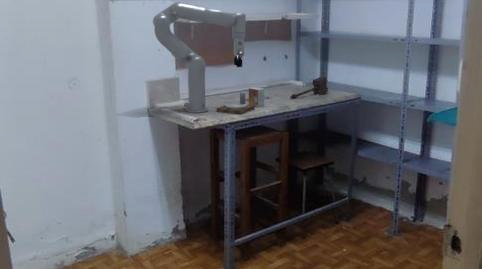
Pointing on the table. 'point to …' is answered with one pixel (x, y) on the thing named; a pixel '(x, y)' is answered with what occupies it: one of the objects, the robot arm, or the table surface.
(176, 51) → the robot arm
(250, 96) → the small box
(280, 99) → the table surface
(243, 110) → the stand base
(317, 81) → the hammer
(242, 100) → the round post pedestal
